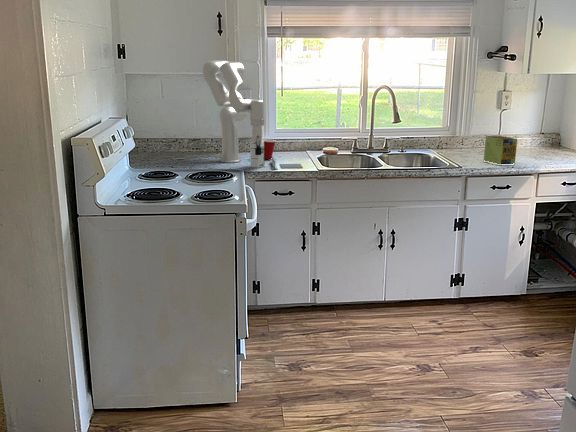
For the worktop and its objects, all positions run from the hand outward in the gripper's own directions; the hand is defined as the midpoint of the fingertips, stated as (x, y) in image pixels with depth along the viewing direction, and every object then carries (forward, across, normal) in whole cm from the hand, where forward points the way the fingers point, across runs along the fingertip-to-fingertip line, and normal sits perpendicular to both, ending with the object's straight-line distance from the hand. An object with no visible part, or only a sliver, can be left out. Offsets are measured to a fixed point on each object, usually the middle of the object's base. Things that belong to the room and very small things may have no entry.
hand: (257, 153), depth 334 cm
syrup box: (+8, 0, 0) cm, 8 cm away
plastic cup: (+7, -26, +7) cm, 27 cm away
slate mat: (+8, 0, +19) cm, 20 cm away
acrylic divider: (+7, 0, +9) cm, 11 cm away
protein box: (+10, -4, +142) cm, 142 cm away
